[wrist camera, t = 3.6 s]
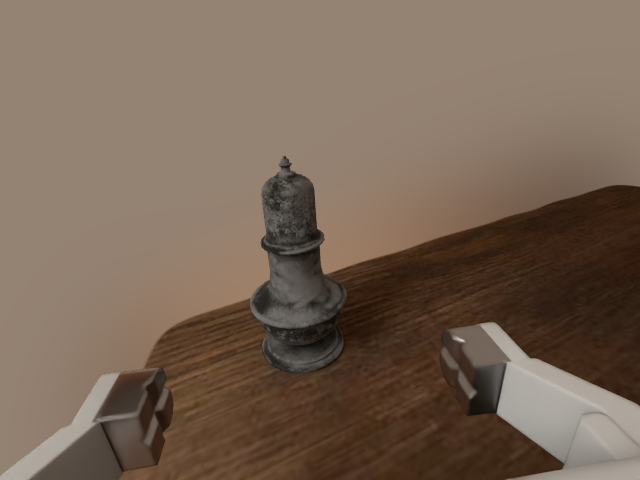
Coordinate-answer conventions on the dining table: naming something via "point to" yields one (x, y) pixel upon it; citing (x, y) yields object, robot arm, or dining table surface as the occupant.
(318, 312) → the grey chess piece
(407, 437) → the dining table surface
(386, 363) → the dining table surface
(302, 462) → the dining table surface
